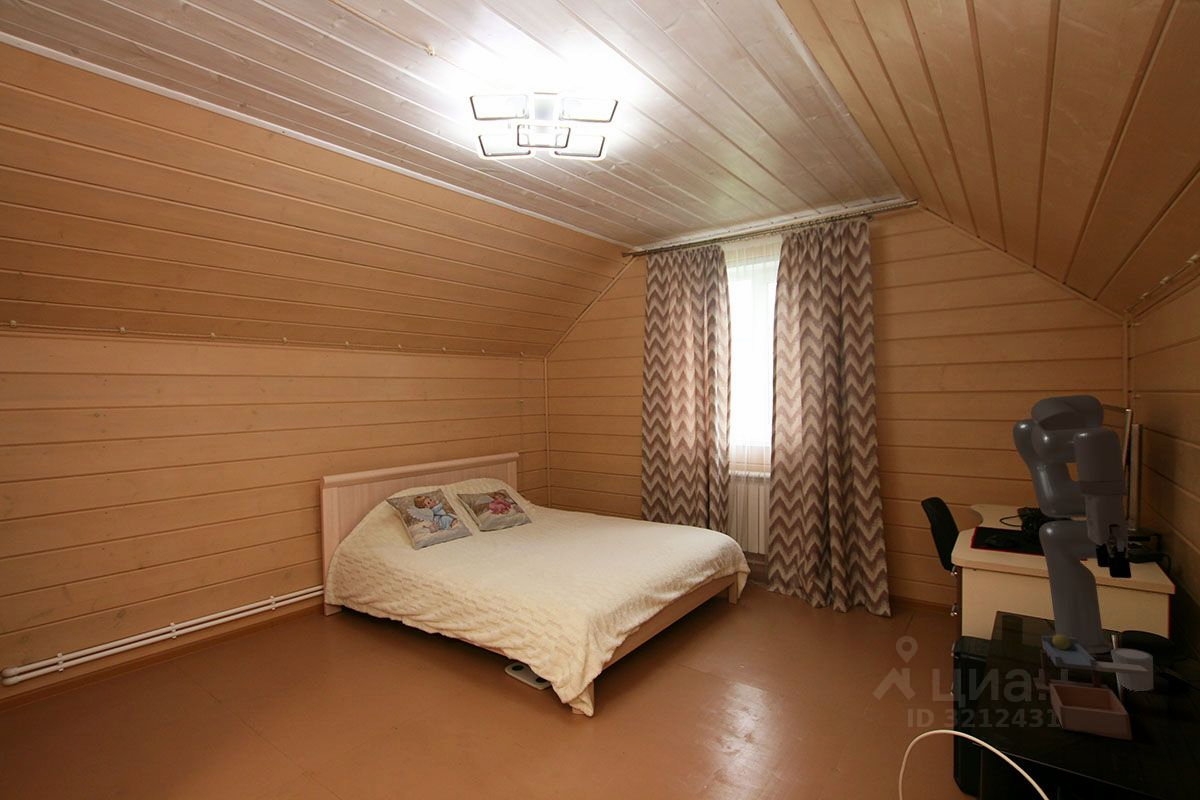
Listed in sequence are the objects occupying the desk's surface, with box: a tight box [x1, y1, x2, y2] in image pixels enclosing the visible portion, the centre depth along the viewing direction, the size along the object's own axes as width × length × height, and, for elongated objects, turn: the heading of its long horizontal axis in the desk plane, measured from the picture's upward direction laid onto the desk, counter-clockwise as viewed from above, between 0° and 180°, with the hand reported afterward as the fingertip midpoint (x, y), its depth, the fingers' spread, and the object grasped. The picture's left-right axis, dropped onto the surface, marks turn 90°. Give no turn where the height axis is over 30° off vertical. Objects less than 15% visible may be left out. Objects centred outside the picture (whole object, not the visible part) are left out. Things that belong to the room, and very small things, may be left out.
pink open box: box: [1049, 683, 1133, 741], centre depth 115 cm, size 11×10×4 cm
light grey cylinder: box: [1110, 647, 1154, 692], centre depth 128 cm, size 7×7×7 cm
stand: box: [1032, 648, 1110, 695], centre depth 128 cm, size 6×13×8 cm, turn 61°
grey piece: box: [1041, 635, 1149, 676], centre depth 127 cm, size 17×15×4 cm
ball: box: [1053, 635, 1070, 650], centre depth 134 cm, size 3×3×3 cm
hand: (1114, 572), depth 122 cm, fingers open, 9 cm apart
